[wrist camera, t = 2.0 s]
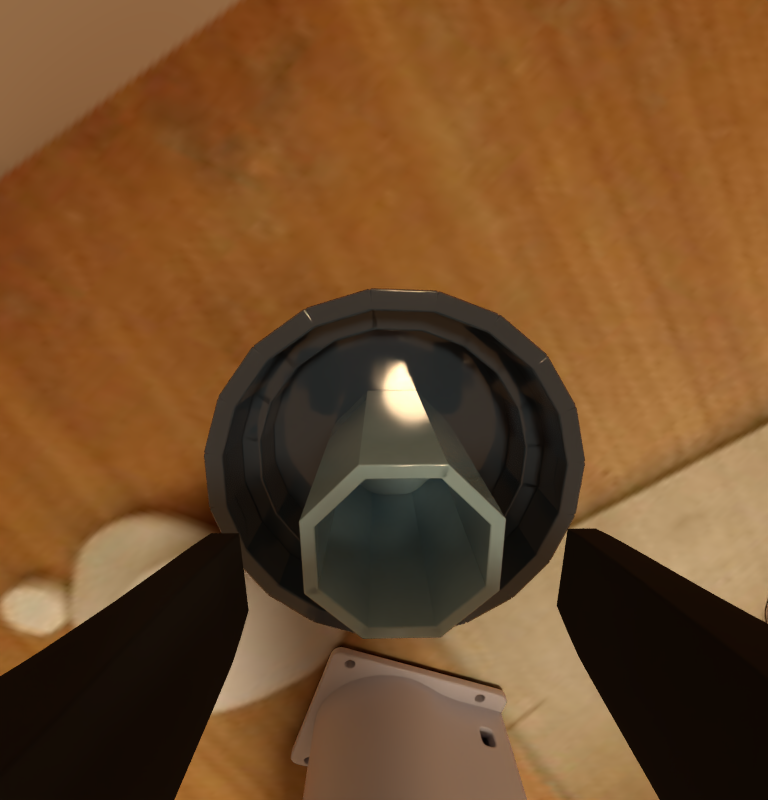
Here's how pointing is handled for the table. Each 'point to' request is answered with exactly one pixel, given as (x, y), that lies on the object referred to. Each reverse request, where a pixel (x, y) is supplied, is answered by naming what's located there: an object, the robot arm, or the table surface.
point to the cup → (399, 523)
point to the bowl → (389, 371)
